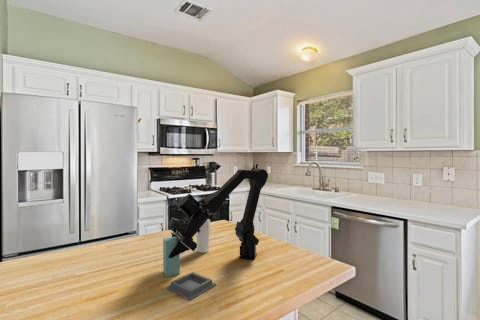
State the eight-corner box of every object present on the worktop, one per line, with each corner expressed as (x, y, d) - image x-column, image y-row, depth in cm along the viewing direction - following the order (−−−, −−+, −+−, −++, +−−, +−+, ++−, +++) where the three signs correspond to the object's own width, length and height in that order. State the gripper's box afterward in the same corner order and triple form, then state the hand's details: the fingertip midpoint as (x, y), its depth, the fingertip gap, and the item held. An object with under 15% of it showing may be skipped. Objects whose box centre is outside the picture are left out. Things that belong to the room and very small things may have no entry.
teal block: (176, 269, 107) (176, 236, 106) (179, 274, 102) (179, 240, 102) (163, 271, 104) (163, 238, 104) (166, 276, 100) (166, 242, 99)
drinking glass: (207, 254, 122) (207, 221, 121) (193, 253, 123) (193, 220, 123) (212, 249, 128) (212, 217, 128) (198, 248, 130) (198, 217, 129)
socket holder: (192, 275, 101) (192, 270, 101) (216, 285, 94) (216, 279, 93) (166, 288, 91) (166, 282, 91) (190, 300, 84) (190, 294, 84)
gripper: (175, 205, 113) (147, 235, 108) (188, 215, 96) (156, 251, 91) (193, 222, 116) (167, 251, 112) (209, 233, 100) (180, 269, 95)
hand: (167, 255), depth 102 cm, fingers closed on teal block, 5 cm apart
